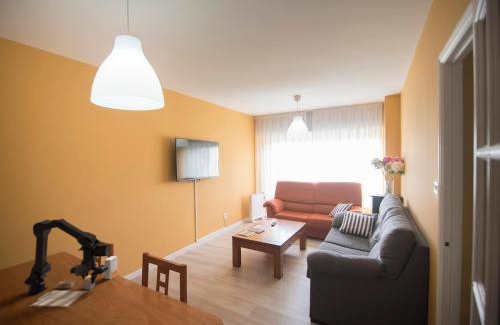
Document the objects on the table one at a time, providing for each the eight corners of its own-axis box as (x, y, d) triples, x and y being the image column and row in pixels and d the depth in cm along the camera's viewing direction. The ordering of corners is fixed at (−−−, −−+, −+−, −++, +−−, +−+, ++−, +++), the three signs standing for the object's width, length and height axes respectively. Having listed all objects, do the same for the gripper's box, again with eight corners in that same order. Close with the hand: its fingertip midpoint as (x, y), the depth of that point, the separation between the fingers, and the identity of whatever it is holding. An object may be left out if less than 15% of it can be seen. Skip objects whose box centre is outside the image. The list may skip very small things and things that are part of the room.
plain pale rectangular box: (57, 288, 132) (57, 284, 132) (61, 285, 135) (61, 281, 135) (71, 287, 133) (71, 283, 133) (74, 284, 136) (74, 280, 136)
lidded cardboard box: (84, 289, 132) (84, 277, 131) (88, 285, 135) (88, 274, 135) (90, 289, 131) (90, 278, 131) (94, 285, 135) (94, 274, 135)
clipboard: (28, 306, 116) (28, 304, 116) (53, 290, 130) (53, 288, 130) (67, 307, 115) (67, 305, 115) (87, 291, 129) (87, 289, 129)
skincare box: (110, 279, 142) (110, 260, 141) (104, 278, 143) (104, 259, 142) (117, 274, 148) (117, 256, 147) (112, 274, 148) (111, 255, 148)
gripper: (61, 263, 125) (62, 291, 126) (94, 263, 124) (95, 292, 125) (77, 254, 136) (78, 280, 137) (108, 254, 136) (108, 281, 136)
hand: (89, 283), depth 133 cm, fingers closed on lidded cardboard box, 4 cm apart
